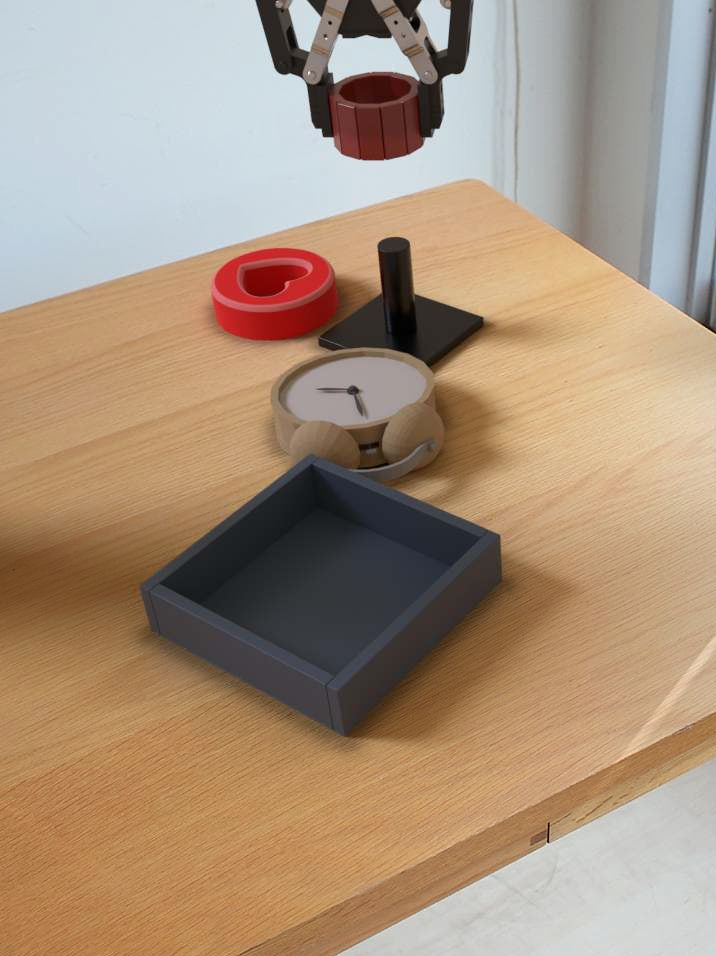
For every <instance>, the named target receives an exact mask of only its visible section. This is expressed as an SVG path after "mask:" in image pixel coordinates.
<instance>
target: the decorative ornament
mask: <svg viewBox="0 0 716 956" xmlns="http://www.w3.org/2000/svg"><path fill="white" fill-rule="evenodd" d="M337 289H338V288H337V281H336V274H335V270H334V268H333V265H332V264H331V263H330V262H329V261H328V260H327V259H326V258H324V257H323V256H322V255H320V254H318V253H316V252H314V251H310V250H308V249H301V248H295V247H269V248H263V249H258V250H253V251H250V252H246V253H243V254H241V255H238V256H236V257H234V258H232V259H230V260H228V261H227V262H225V263H224V264H223V265H222V266H220V267H219V268H218V269H217V270H216V272H214V275H213V277H212V278H211V281H210V293H211V299H212V302H213V303H212V304H213V308H214V314H215V318H216V322H217V324H218V325H219V327H220V328H221V329H222V330H224V331H225V332H227V333H228V334H231V335H232V336H235V337H239V338H242V339H246V340H251V341H267V342H268V341H282V340H288V339H293V338H294V339H295V338H297V337H301V336H304V335H306V334H309V333H311V332H313V331H315V330H317V329H319V328H321V327H323V326H324V325H325V324H327V323H328V322H329V321H331V320H332V318H333V317H334V315H336V312H337V310H338V307H339V298H338V290H337Z"/></svg>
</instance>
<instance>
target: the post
mask: <svg viewBox="0 0 716 956" xmlns="http://www.w3.org/2000/svg"><path fill="white" fill-rule="evenodd" d="M376 246H377V247H376V249H377V257H378V267H379V268H378V269H379V278H380V286H381V287H380V288H381V293H379V294H377V296H375V297H374V298H372V299H371V300H369V301H368V302H366V303H365V304H364V305H363V306H361V307H359V308H358V309H356V310H354V312H352V313H351V314H349V315H348V316H346V317H345V318H344V319H342V320H340V321H339V322H338V323H336V324H335V325H333V326H332V327H330V328H329V329H327V330H326V331H325V332H323V333H322V334H321V335H319V336H318V337H317V340H318V341H317V342H318V346H319V347H321V348H323V349H325V350H326V349H327V350H329V351H330V352H333V351H337V350H343V349H353V348H381V349H390V350H394V351H398V352H403V353H407V354H409V355H411V356H413V357H415V358H417V359H419V360H421V361H423V362H424V363H425V364H426V365H427V366H428V368H429V369H431V368H432V367H433V366H434V365H436V364H437V363H438V362H440V360H442V359H443V358H444V357H446V356H447V355H448V354H450V353H451V352H453V351H454V350H455V349H456V348H458V347H459V346H460V345H461V344H463V343H464V342H465V341H466V340H468V339H469V338H470V337H472V336H473V335H474V334H475V333H477V332H478V331H479V330H480V329H482V328H483V327H484V326H485V322H484V321H485V320H484V316H482V315H478V314H475V313H472V312H470V311H466V310H463V309H461V308H457V307H455V306H452V305H449V304H446V303H443V302H440V301H437V300H434V299H431V298H428V297H425V296H422V295H420V294H416V293H415V287H414V286H415V285H414V273H413V260H412V259H413V258H412V250H411V249H412V248H411V242H410V241H409V239H407V238H405V237H402V236H390V237H389V236H388V237H385V238H382V239H381V240H379V242H378V243H377V245H376Z"/></svg>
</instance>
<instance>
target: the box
mask: <svg viewBox="0 0 716 956" xmlns="http://www.w3.org/2000/svg"><path fill="white" fill-rule="evenodd" d="M502 570H503V565H502V542H501V534H500V533H497V532H495V531H492V530H490V529H488V528H485V527H484V526H481V525H478V524H477V523H474V522H472V521H470V520H468V519H465V518H463V517H460V516H458V515H456V514H453V513H451V512H448V511H446V510H443V509H442V508H439V507H437V506H434V505H432V504H429V503H427V502H426V501H423V500H420V499H418V498H416V497H413V496H412V495H409V494H406V493H404V492H402V491H400V490H397V489H395V488H392V487H391V486H388V485H387V484H386V485H385V484H383V483H382V482H381V483H379V482H376V481H374V480H372V479H369V478H367V477H365V476H362V475H360V474H358V473H355V472H353V471H351V470H348V469H346V468H344V467H341V466H339V465H337V464H334V463H332V462H330V461H327V460H325V459H323V458H320V457H318V456H316V455H313V454H311V453H310V454H309V455H308V456H306V457H305V458H304V459H302V460H301V461H300V462H299V463H297V464H296V465H295V466H293V465H292V467H290V468H289V469H288V470H287V471H286V472H284V473H283V474H282V475H281V476H279V477H278V478H277V479H275V480H274V481H273V482H272V483H270V484H268V485H267V486H266V487H264V489H262V490H261V491H259V492H258V493H257V494H256V495H254V496H253V497H251V499H249V500H248V501H246V503H244V504H243V505H242V506H240V507H239V508H238V509H237V510H235V511H234V512H232V513H231V514H230V515H228V516H227V517H226V518H225V519H223V520H222V521H221V522H220V523H218V524H217V525H216V526H214V527H213V528H212V529H210V530H209V531H207V532H206V533H205V534H204V535H203V536H201V537H200V538H199V539H198V540H196V541H195V542H193V543H192V544H191V545H190V546H189V547H187V548H186V549H185V550H183V551H182V552H180V553H179V555H177V556H176V557H174V558H173V559H172V560H171V561H169V562H168V563H166V564H165V565H163V566H162V567H161V568H160V569H159V570H158V571H156V572H155V573H154V574H153V575H151V576H150V577H149V578H147V579H146V580H145V581H143V582H142V583H141V584H139V591H140V594H141V598H142V601H143V606H144V609H145V612H146V616H147V619H148V623H149V627H150V630H151V632H153V633H154V634H156V635H158V636H160V637H161V638H164V639H165V640H167V641H169V642H171V643H173V644H175V645H176V646H178V647H180V648H181V649H184V650H185V651H187V652H189V653H190V654H193V655H194V656H196V657H198V658H200V659H201V660H203V661H206V662H207V663H209V664H210V665H213V666H214V667H216V668H218V669H220V670H222V671H224V673H227V674H229V675H231V676H233V677H234V678H236V679H238V680H240V681H242V682H243V683H245V684H247V685H249V686H250V687H252V688H255V689H256V690H258V691H260V692H262V693H263V694H265V695H267V696H269V697H270V698H273V699H274V700H276V701H278V702H280V703H281V704H283V705H285V706H287V707H289V708H290V709H292V710H294V711H296V712H298V713H300V714H301V715H303V716H305V717H307V718H309V719H311V720H312V721H314V722H316V723H318V724H320V725H322V726H324V727H325V728H327V729H329V730H331V731H332V732H334V733H335V734H338V735H340V737H343V738H346V737H348V735H349V734H350V733H352V731H353V730H354V729H355V728H356V727H357V726H358V725H359V724H360V723H361V722H363V720H364V719H365V718H367V716H368V715H369V714H370V713H371V712H372V711H373V710H375V708H376V707H378V705H379V704H380V703H381V702H382V701H383V700H384V699H385V698H386V697H387V696H388V695H389V694H390V693H391V692H392V691H394V689H396V687H397V686H398V685H399V684H400V683H401V682H402V681H403V680H404V679H405V678H406V677H407V676H408V675H409V674H410V673H411V672H412V671H413V670H414V669H415V668H416V667H417V666H418V665H419V664H420V663H421V662H422V661H423V660H424V659H425V658H426V657H427V656H428V655H429V654H430V653H431V652H432V651H433V650H434V649H435V648H436V647H437V646H439V644H440V643H442V641H443V640H444V639H445V638H446V637H448V635H449V634H450V633H451V632H452V631H453V630H454V629H455V628H456V627H458V625H459V624H460V623H461V622H462V621H463V620H464V619H465V618H466V617H468V615H470V613H471V612H472V611H473V610H474V609H475V608H476V607H477V606H478V605H479V604H480V603H481V602H482V601H483V600H484V599H485V598H486V597H487V596H488V595H489V594H490V593H491V592H492V591H493V590H494V589H495V588H496V587H497V586H498V585H499V584H500V583H501V582H502V581H503V571H502Z"/></svg>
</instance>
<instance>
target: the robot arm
mask: <svg viewBox="0 0 716 956" xmlns="http://www.w3.org/2000/svg"><path fill="white" fill-rule="evenodd" d="M254 1H255V5H256V8H257V12H258V16H259V18H260V19H259V20H260V23H261V25H262V29H263V33H264V36H265V40H266V43H267V47H268V50H269V54H270V57H271V61H272V64H273V67H274V70H275V71H276V73H278V74H279V75H282V76H288V75H289V74H290V75H293V76H296V77H298V78H300V79H302V80H303V82H304V83H305V86H306V90H307V96H308V104H309V105H308V106H309V112H310V121H311V123H312V125H313V127H314V130H321V135H322V138H327V139H328V138H333V130H332V122H331V114H330V106H329V98H328V95H329V92H330V90H331V88H332V86H333V84H335V79H334V72H330V71H329V63H330V61H331V57H332V55H333V52H334V50H335V47H336V43H337V41H338V39H339V37H340V36H341V38H342V39H357V38H361V37H365V36H368V37H372V38H375V39H392V37H393V39H394V41H395V43H396V44H397V46H398V48H399V50H400V51H401V53H402V54H403V56H405V57H406V58H407V59H408V61H409V62H410V64H411V66H412V68H413V69H414V71H415V73H416V75H417V76H418V81H419V82H418V84H417V90H418V103H419V115H420V128H421V137H422V138H425V139H427V138H429V139H430V138H433V137H434V135H435V131H436V130H440V129H441V126H442V123H443V120H444V116H445V98H444V83H443V79H444V78H445V77H447V76H451V75H455V76H456V75H460V74H463V72H464V71H465V69H466V66H467V63H468V58H469V55H470V47H471V37H472V24H473V16H474V15H473V13H474V3H475V0H439V3H440V5H441V6H442V8H443V9H445V10H449V23H448V24H449V25H448V36H447V47H446V48H444V49H442V50H438V48H437V47H436V45H435V43H434V41H433V39H432V38H431V36H430V33H429V29H428V26H427V24H426V22H425V20H424V19H423V17H422V15H421V13H420V11H419V9H418V7H419V6H420V4H421V2H422V1H423V0H306V1H307V3H309V5H310V6H311V7H312V8H313V10H314V11H315V12H316V13H317V14H318V15H319V17H320V20H319V23H318V26H317V29H316V32H315V35H314V38H313V39H312V40H313V41H312V43H311V47H310V51H308V50H305V49H303V48H300V45H299V42H298V39H297V34H296V31H295V27H294V24H293V20H292V16H291V11H290V9H289V8H290V7H291V5H292V3H293V2H294V0H254ZM333 139H334V138H333Z"/></svg>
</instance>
